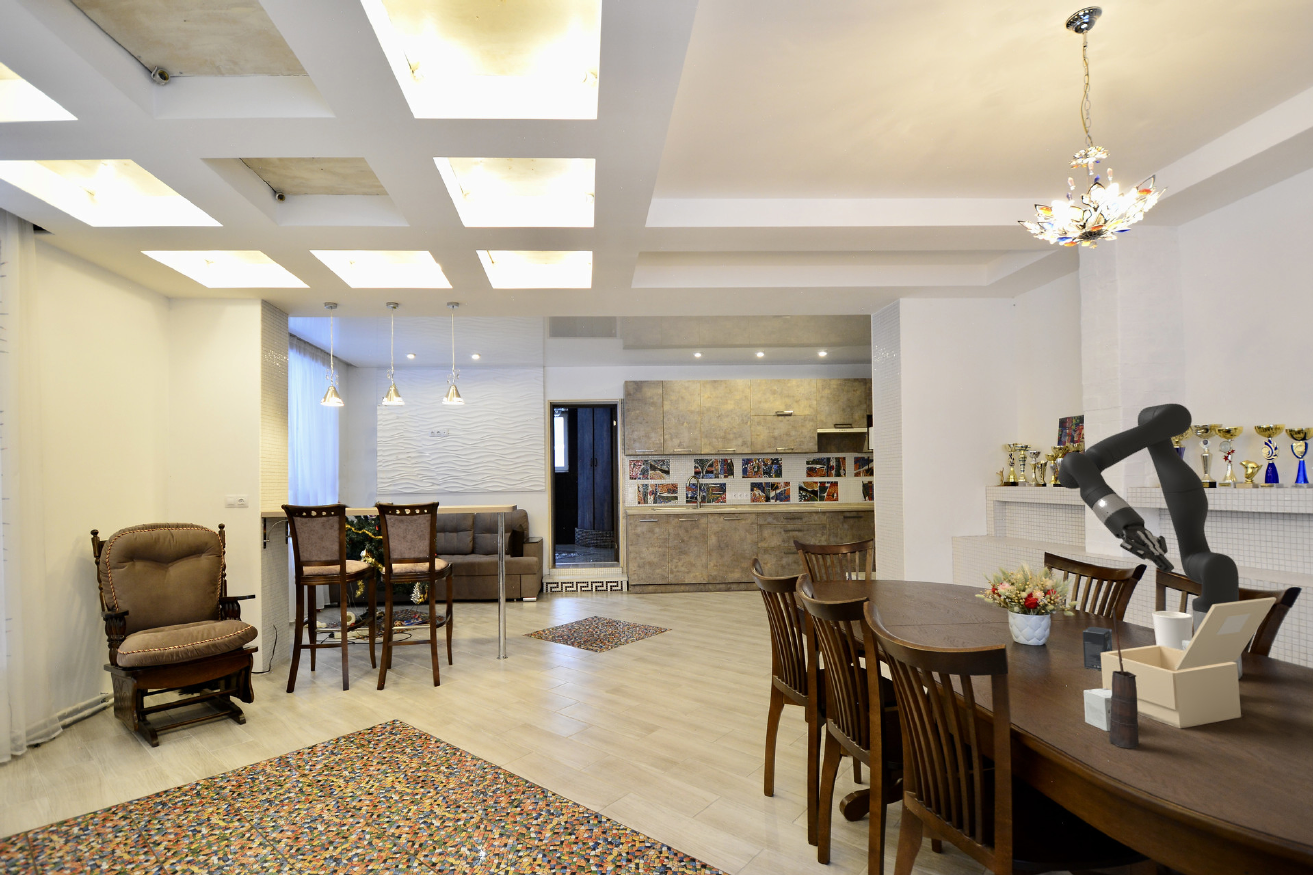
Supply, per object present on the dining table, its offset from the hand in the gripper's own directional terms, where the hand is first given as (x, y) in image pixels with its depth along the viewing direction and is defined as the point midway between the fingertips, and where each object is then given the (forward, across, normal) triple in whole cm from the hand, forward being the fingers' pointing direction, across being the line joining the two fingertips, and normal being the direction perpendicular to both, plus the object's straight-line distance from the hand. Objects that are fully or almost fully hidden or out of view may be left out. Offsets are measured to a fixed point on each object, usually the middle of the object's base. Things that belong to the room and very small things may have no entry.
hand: (1169, 570), depth 161 cm
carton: (+22, 0, +25) cm, 33 cm away
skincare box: (+23, -22, +24) cm, 40 cm away
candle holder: (-1, +47, +48) cm, 67 cm away
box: (-1, +16, +48) cm, 50 cm away
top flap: (+16, 0, +1) cm, 16 cm away
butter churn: (+30, -28, +16) cm, 45 cm away
